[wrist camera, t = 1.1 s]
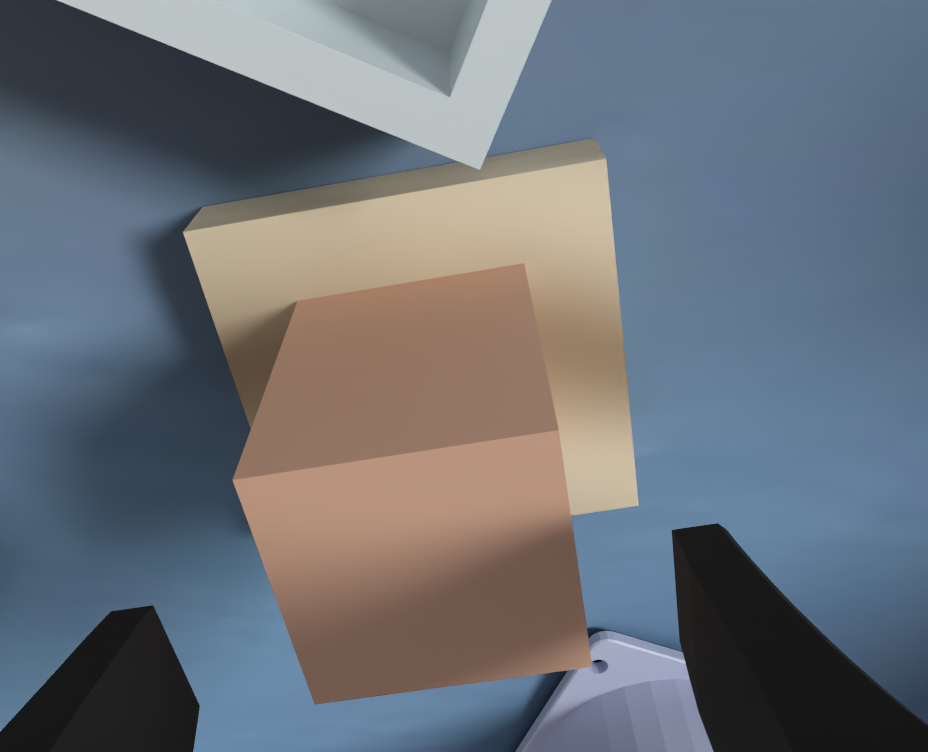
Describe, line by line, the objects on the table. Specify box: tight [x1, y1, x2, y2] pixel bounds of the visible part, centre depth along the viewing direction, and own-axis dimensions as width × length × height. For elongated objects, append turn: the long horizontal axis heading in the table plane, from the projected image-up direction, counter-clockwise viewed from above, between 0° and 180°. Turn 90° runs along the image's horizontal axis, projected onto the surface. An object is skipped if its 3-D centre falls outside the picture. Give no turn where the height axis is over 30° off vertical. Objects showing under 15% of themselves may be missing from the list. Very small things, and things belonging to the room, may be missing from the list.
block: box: [233, 263, 592, 704], centre depth 16 cm, size 4×4×6 cm
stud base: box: [183, 138, 639, 515], centre depth 17 cm, size 8×8×5 cm
